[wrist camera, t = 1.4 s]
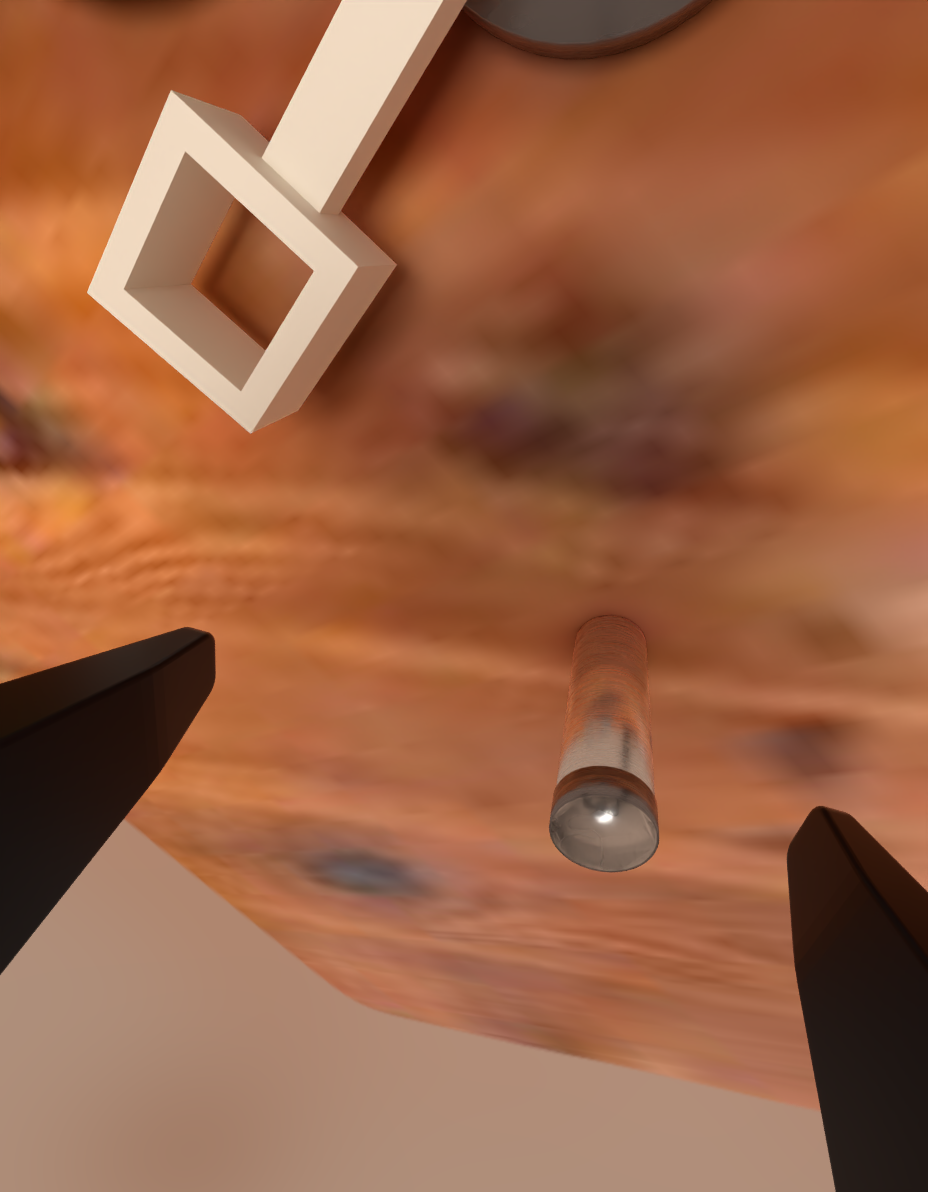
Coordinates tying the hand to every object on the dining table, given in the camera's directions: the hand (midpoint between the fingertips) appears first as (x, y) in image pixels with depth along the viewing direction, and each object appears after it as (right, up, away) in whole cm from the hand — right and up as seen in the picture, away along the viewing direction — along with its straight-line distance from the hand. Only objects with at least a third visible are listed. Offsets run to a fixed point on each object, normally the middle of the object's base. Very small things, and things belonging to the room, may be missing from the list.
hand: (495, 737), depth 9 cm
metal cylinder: (+5, 0, +14) cm, 15 cm away
